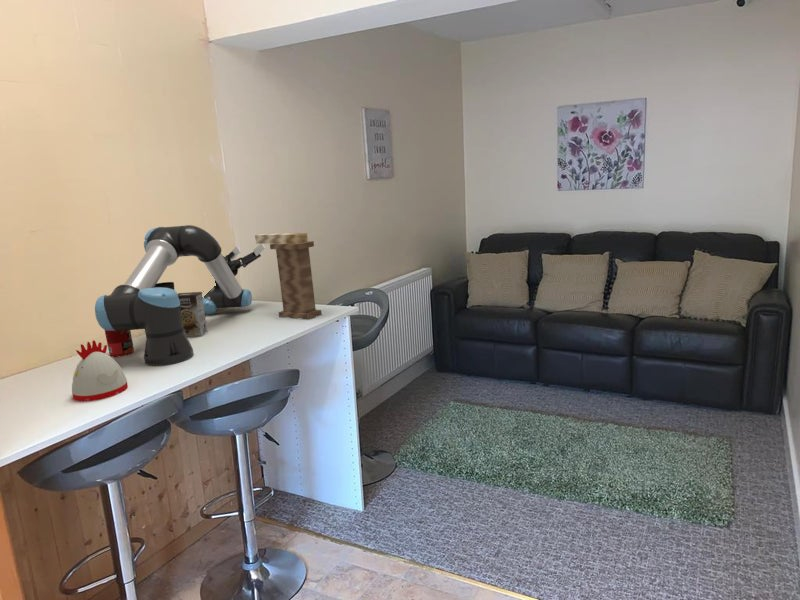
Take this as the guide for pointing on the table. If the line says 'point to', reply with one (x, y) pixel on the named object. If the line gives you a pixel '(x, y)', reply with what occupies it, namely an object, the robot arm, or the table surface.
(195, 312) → the coffee box
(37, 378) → the table surface
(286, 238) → the handle
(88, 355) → the kitchen timer
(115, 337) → the canned food
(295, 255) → the pedestal
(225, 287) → the robot arm
